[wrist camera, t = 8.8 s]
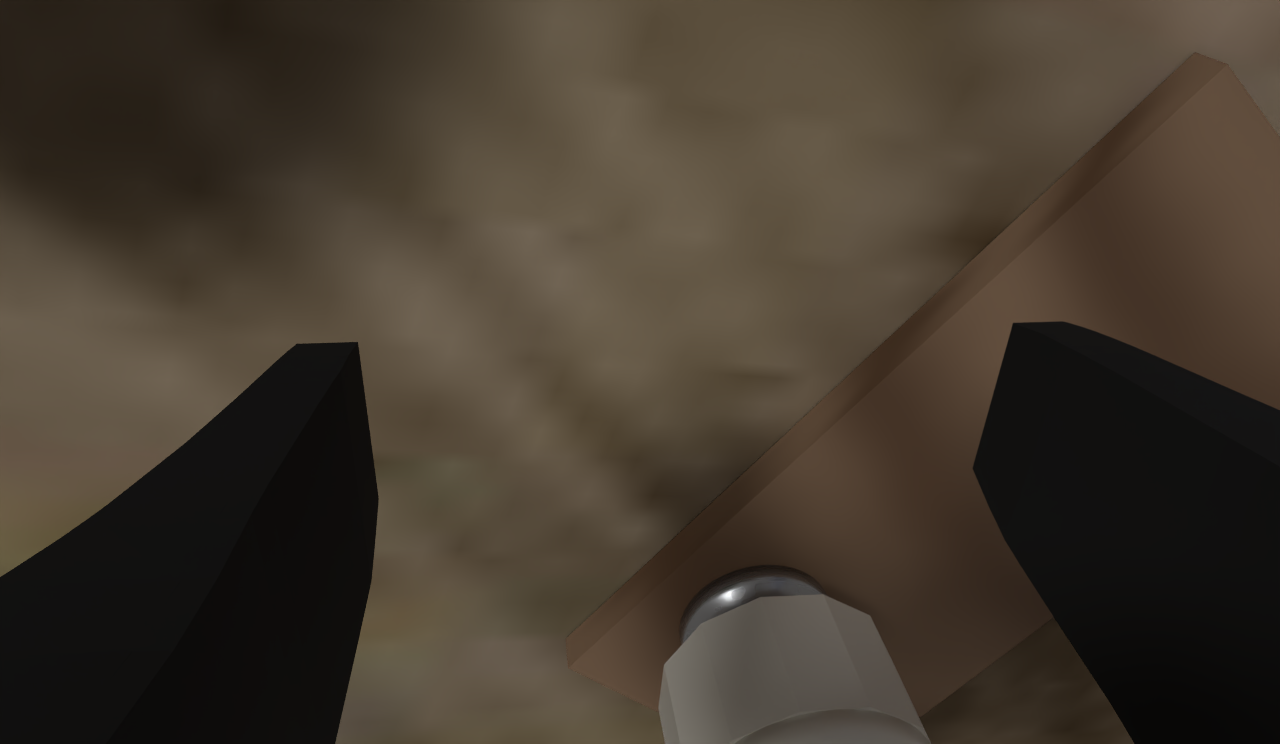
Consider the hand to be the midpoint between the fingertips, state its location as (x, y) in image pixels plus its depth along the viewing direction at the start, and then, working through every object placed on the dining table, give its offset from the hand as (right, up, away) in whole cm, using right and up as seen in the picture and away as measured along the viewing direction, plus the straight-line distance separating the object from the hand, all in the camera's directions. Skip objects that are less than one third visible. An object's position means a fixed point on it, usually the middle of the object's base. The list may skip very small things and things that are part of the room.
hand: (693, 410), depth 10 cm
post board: (+8, -3, +14) cm, 16 cm away
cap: (+3, -7, +13) cm, 15 cm away
